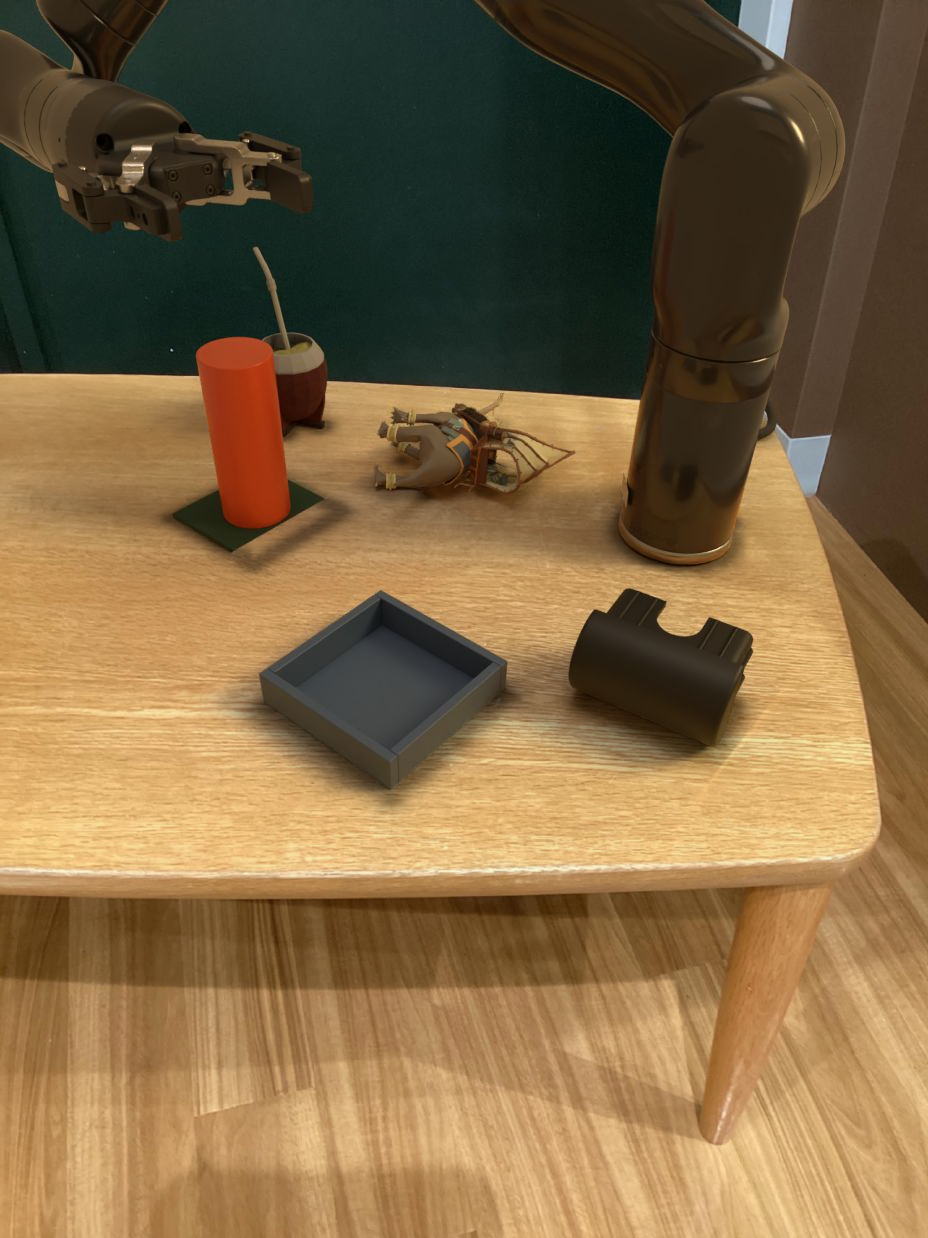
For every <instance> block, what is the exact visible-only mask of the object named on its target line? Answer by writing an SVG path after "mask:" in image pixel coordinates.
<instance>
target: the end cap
mask: <svg viewBox="0 0 928 1238" xmlns="http://www.w3.org/2000/svg"><path fill="white" fill-rule="evenodd" d="M667 602H668V601H667V600H664V599H662V598H659V597H657V596H653V595H651V594H648V593H645V592H643V591H641V590H637V589H635V588H631V587H629V588H628V587H627V588H625V589H623V591H622V592H621V593H620V595H619V596H618V597H617V598H616V600H615V601H614V602H613V603H612V605H611V606H610V608H609V609H608V610H607V612H605V611H602V610H599V609H593V610H592V611H591V613H590V614H589V615H588V617H587V619H586V620H585V622H584V624H583V626H582V628H581V630H580V632H579V634H578V636H577V639H576V641H575V644H574V647H573V649H572V653H571V657H570V660H569V665H568V671H567V672H568V673H567V674H568V675H567V679H568V683H569V685H570V687H571V688H573V689H574V690H577V691H580V692H582V693H583V694H586V695H589V696H591V697H593V698H595V699H598V700H601V701H603V702H605V703H608V704H610V705H612V706H614V707H617V708H620V709H621V710H623V711H627V712H629V713H631V714H634V715H636V716H639V717H641V718H643V719H646V720H648V721H650V722H652V723H655V724H657V725H660V726H662V727H665V728H667V729H669V730H671V731H674V732H676V733H679V734H681V735H683V736H685V737H688V738H690V739H693V740H695V741H698V742H700V743H702V744H704V745H707V746H709V747H715V746H717V745H718V744H719V743H720V741H721V740H722V739H723V736H724V734H725V733H726V730H727V726H728V723H729V719H730V717H731V714H732V710H733V707H734V704H735V700H736V697H737V694H738V692H739V691H740V689H741V687H742V685H743V684H744V681H745V680H746V676H745V669H746V666H747V665H748V663H749V661H750V659H751V657H752V656H753V654H754V649H753V648H752V647H753V643H754V636H753V634H752V633H750V631H748V630H746V629H743V628H741V627H738V626H735V625H732V624H729V623H727V622H724V621H722V620H720V619H717V618H715V617H710V616H708V618H707V619H706V621H705V623H704V624H703V626H702V628H700V630H699V631H698V632H697V633H694V634H691V635H677V634H673V633H671V632H668V631H667V630H665V629H664V628H663V627H662V626H661V625H660V624H659V622H658V618H659V617H660V615H661V614H662V612H663V611H664V610H665V609H666V607H667Z"/></svg>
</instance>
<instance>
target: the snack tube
mask: <svg viewBox="0 0 928 1238" xmlns="http://www.w3.org/2000/svg"><path fill="white" fill-rule="evenodd" d="M195 359H196V365H197V371H198V376H199V383H200V386H201V387H200V389H201V393H202V400H203V405H204V406H203V407H204V410H205V416H206V422H207V429H208V434H209V439H210V444H211V445H210V446H211V451H212V456H213V458H212V459H213V463H214V469H215V475H216V480H217V481H216V482H217V486H218V487H217V488H218V490H219V493H220V498H221V504H222V510H223V515H224V518H225V519H226V520H227V521H228V522H229V523H231V524H232V525H234V526H237V527H241V528H247V529H258V528H265V527H269V526H272V525H275V524H277V523H279V522H281V521H282V520H284V519H285V518H286V517H287V516H288V514H289V512H290V509H291V505H290V496H289V487H288V480H289V478H288V471H287V462H286V454H285V446H284V437H283V435H282V426H281V418H280V409H279V400H278V391H277V383H276V374H275V365H274V357H273V350H272V348H271V346H270V345H269V344H267V343H266V342H264V341H262V339H258V338H255V337H247V336H232V337H224V338H219V339H216V340H212V341H209V342H207V343H205V344H203V345H202V346H201V347H200V348H198V350H196V353H195Z"/></svg>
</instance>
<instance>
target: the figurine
mask: <svg viewBox="0 0 928 1238" xmlns="http://www.w3.org/2000/svg"><path fill="white" fill-rule="evenodd" d="M504 398H505V392H500V393H499V396H498V397H497V399H496V400H495V401H494V402H493V403H492V404H490V405H488V406H485V407H483V408H481V409H479V410H478V409H477V408H476V407H474V406H470V405H469V406H468V405H466V404H465V403H457V402H455V403H454V406H453V407H451V412H450V411H439V412H436V413H432V412H431V413H417V412H416V411H414V409H411V410H408V412H407V411H404V410H401V409H399V408H397V407H396V406H392V408H393V411H390V414H392V415H391V416H389V418H390V419H391V420H392V421H391V422H389V425H388V423H386V421H385V420H382V421H381V423H380V426H379V429H378V431H377V432H376V435H377V436H379V439H386V440H387V442H390V444H389V446H390V447H394V448H397V452H399V455H400V456H401V455H402V454H403V455H405V456H406V455H407V456H408V457H410V458H411V459H413V460H414V461H417V462H419V464H418V468H417V469H416V470H415V471H413V472H412V473H411V474H407V475H397V474H396V473H394V472H393V471H392V470H390V472H389V473H388V472H386V473H385V474H384V473H383V472H382V471H381V470H380V469H379V468H380V467H379V466H378V464H377V463H374V482H375V485H374V487H378V486H383V485H384V486H385V489H386V490H389V491H390V492H391V491H392V489H393V490H394V489H396V488H409V489H416V490H417V489H418V490H425V489H432V488H436V487H438V486H440V485H442V484H443V486H447V485H451V484H453V483H455V482H456V481H457V480H459V479H460V478H461V477H463V476H464V475H465V474H467V473H468V472H469V474H467V476H465V477H464V478H463V479H462V480H460V481H459V482H457V483H456V484H455V485H454V486H453V488H454V489H456V488H457V487H458V486H465V487H468V488H469V489H468V490H467V491H468V492H470V491H472V490H473V489H474V488H475V487H476V486H478V485H481V486H483V487H487V488H489V489H490V490H492V491H495V492H496V493H499V494H501V495H504V496H508V495H511V494H514V493H515V492H516V491H518V490H519V489H520V488H521V486H522V485H525V484H528V483H529V482H530V481H531V480H533V479H534V478H536V477H539V475H541V474H542V473H543V472H544V471H545V470H547V469H549V468H551V467H553V466H554V465H557V464H559V463H561V462H563V461H564V460H567V459H568V458H570V457H571V456H573V455H575V454H576V451H575V450H570V449H567V448H566V449H565V448H562V447H558V446H554V444H553V443H551V444H549V443H547V442H545V441H543V440H541V439H539V438H538V437H536V436H533V435H532V434H530V433H528V432H524V431H521V430H520V429H519V430H518V429H513V428H504V427H500V425H501V424H502V422H503V419H502V418H496V416H495V409H496V408H499V407H500V405H501V403H502V402H503V400H504ZM491 412H492V416H493V419H494V420H493V421H491V420H490V418H489V417H488V416H487V414H489V413H491ZM401 424H406V425H407V426H401ZM415 424H421V425H415ZM408 425H409V426H408ZM411 443H412V444H417V443H419V448H418V447H415V446H413V445H412V444H411ZM498 451H501V452H505V453H506V454H508V455H510V456H511V459H512V460H513V463H515V466H516V467H513V468H512V467H507V466H505V465H503V464H501V463H499V462H497V458H498ZM497 465H498V466H501V469H502V470H514V471H517V472H516V473H517V476H510V475H509V474H506V473H502V472H501V471H500V470H499V468H498V466H497ZM470 478H472V479H470ZM464 481H466V482H469V483H474V484H469V483H464Z"/></svg>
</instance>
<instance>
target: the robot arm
mask: <svg viewBox="0 0 928 1238" xmlns="http://www.w3.org/2000/svg"><path fill="white" fill-rule="evenodd" d="M170 1H171V0H35V3H36V6H37V8H38V11H39V13H40V15H41V16H42V18H43V19H44V20H45V22H46V23H47V24H48V25H49V27H50V28H51V29H52V31H53V32H54V33H55V34H56V35H57V36H58V37H59V38H60V40H61V41H62V42H63V43H64V44H65V45H66V47H67V48H68V49H69V51H71V52H72V54H73V61H72V67H71V69H69V68H67V67H65V66H63V65H61V64H59V63H58V62H57V61H55V60H54V59H52V58H51V57H49V56H48V55H46V54H45V53H43V52H42V51H40V50H39V49H37V48H36V47H34V46H32V45H31V44H30V43H28V42H26V41H25V40H23V39H22V38H20V37H18V36H16V35H14V34H13V33H12V32H9V31H6V30H2V29H0V143H1V144H3V145H4V146H6V147H8V149H11V150H13V151H14V152H15V153H17V154H18V155H20V156H21V157H22V158H24V159H26V160H28V161H29V162H30V163H31V164H33V165H35V166H36V167H39V168H40V169H42V170H44V171H46V172H48V173H51V174H53V177H54V178H53V179H54V182H55V186H56V190H57V194H58V197H59V201H60V205H61V209H62V210H63V212H65V213H67V214H68V215H69V216H70V217H72V218H73V219H74V220H75V221H77V222H78V223H80V224H81V225H82V226H84V227H85V228H86V229H87V230H89V231H90V232H92V233H98V234H105V233H108V232H110V231H112V230H113V225H112V223H120V222H122V223H123V224H124V228H126V230H127V229H128V230H132V231H140V230H142V231H144V232H146V233H147V234H149V235H153V236H157V237H159V238H161V239H163V240H165V241H166V242H168V243H173V242H176V241H182V240H183V238H184V235H183V228H182V223H181V222H182V221H181V217H180V214H181V213H182V212H183V211H184V210H185V209H186V208H187V207H188V206H189V205H190V206H197V207H198V206H200V207H203V206H204V205H206V204H207V203H211V204H220V205H221V204H223V205H233V206H243V205H245V204H247V202H249V201H250V200H252V199H258V200H268V201H269V200H270V201H271V202H273V203H275V204H277V205H280V206H282V207H283V208H285V209H289V210H291V211H292V212H295V213H297V214H299V215H300V214H305V213H310V212H311V211H312V210H313V203H315V199H314V198H315V197H314V188H313V177H312V175H310V174H308V173H307V172H305V171H303V169H302V149H301V148H300V147H298V146H295V145H291V144H289V143H286V142H283V141H281V140H280V141H279V140H278V139H277V140H276V139H274V138H271V137H267V136H265V135H262V134H258V133H256V132H252V131H249V130H248V131H243V132H242V133H239V134H238V141H235V140H234V141H233V140H221V139H208V138H206V137H204V136H203V135H201V134H199V133H196V131H195V130H194V129H193V127H192V126H191V124H190V122H189V121H188V120H187V119H186V117H184V115H183V114H182V113H181V112H180V111H178V110H177V109H176V108H175V107H173V105H171V104H169V103H168V102H166V101H164V100H161V99H159V98H156V97H154V96H152V95H150V94H149V95H148V94H147V93H143V92H141V91H138V90H136V89H133V88H130V87H128V86H125V85H123V84H120V83H118V82H119V79H120V77H121V74H122V73H123V70H124V67H126V66H125V65H126V64H127V62H128V59H130V56H131V55H132V53H133V52H134V50H135V49H136V48H137V47H138V44H140V42H141V41H142V40H143V39H144V37H145V36H146V34H147V33H148V31H150V29H151V27H152V26H153V25H154V24H155V22H156V21H157V19H158V18H159V17H160V15H161V14H162V13H163V11H164V10H165V8H166V7H167V5H168V4H169V3H170ZM471 1H472V2H473V3H474V4H475V5H476V7H478V8H479V9H480V10H481V11H483V12H484V13H485V14H486V15H487V16H488V17H489V18H490V19H491V20H492V21H493V22H494V23H495V24H496V25H497V26H499V28H500V29H501V30H503V31H504V32H505V33H506V34H508V35H509V36H510V37H511V38H512V39H514V40H515V41H516V42H518V43H519V44H520V45H522V46H524V47H525V48H527V49H528V50H530V51H532V52H533V53H535V54H537V55H539V56H540V57H542V58H543V59H545V60H547V61H550V62H551V63H553V64H555V65H557V66H559V67H561V68H563V69H565V70H567V71H569V72H571V73H574V74H576V75H577V76H580V77H582V78H584V79H586V80H589V81H590V82H593V83H595V84H597V85H599V86H602V87H603V88H606V89H608V90H610V91H612V92H614V93H616V94H618V95H619V96H621V97H623V98H625V99H626V100H627V101H629V102H631V103H633V104H634V105H635V106H636V107H637V108H639V109H641V110H642V111H643V112H645V114H646V115H648V116H649V117H650V118H651V119H652V120H653V121H655V122H656V123H657V124H658V125H659V126H660V127H661V128H662V129H663V130H664V131H665V132H666V133H667V134H669V136H671V138H672V139H671V141H670V145H669V148H668V151H667V154H666V157H665V161H664V165H663V170H662V174H661V181H660V186H659V193H658V199H657V200H658V201H657V207H656V216H655V226H654V234H653V241H652V251H651V259H650V268H649V292H650V297H651V301H652V305H653V315H652V322H651V329H650V335H649V341H648V347H647V354H646V360H645V368H644V373H643V380H642V386H641V392H640V396H639V397H640V398H639V402H638V403H639V404H638V409H637V414H636V415H637V416H636V422H635V427H634V428H635V429H634V432H633V433H634V434H633V439H632V446H631V451H630V458H629V464H628V471H627V477H625V476H626V475H625V472H622V473H623V474H622V479H621V480H622V481H621V493H622V497H623V499H622V506H621V509H620V511H619V516H618V517H619V518H618V522H617V527H618V532H619V535H620V536H621V538H622V539H623V541H624V542H625V543H626V544H627V545H628V546H629V547H630V548H632V549H633V550H635V551H636V552H637V553H640V554H641V555H643V556H645V557H647V558H650V559H653V560H656V561H658V562H662V563H668V564H674V565H699V564H704V563H709V562H712V561H714V560H717V559H718V558H720V557H722V556H723V555H725V554H726V553H727V552H728V551H729V549H730V547H731V545H732V543H733V539H734V536H735V535H734V534H735V526H736V522H737V518H738V516H739V515H738V514H739V510H740V506H741V505H742V501H743V496H744V492H745V488H746V485H747V480H748V477H749V474H750V473H749V472H750V469H751V466H752V462H753V457H754V454H755V450H756V446H757V442H758V439H762V438H763V439H764V438H766V437H768V436H770V435H772V433H773V432H774V431H775V430H776V428H777V425H778V417H777V411H776V408H775V405H774V404H773V402H772V400H771V399H770V397H769V396H770V392H771V388H772V384H773V380H774V375H775V372H776V368H777V364H778V361H779V357H780V354H781V349H782V346H783V343H784V339H785V335H786V332H787V328H788V324H789V321H790V306H789V302H788V301H787V299H786V298H785V296H784V289H785V283H786V279H787V274H788V270H789V267H790V262H791V257H792V252H793V248H794V244H795V240H796V236H797V231H798V228H799V224H800V220H801V219H802V218H803V217H804V216H806V215H807V214H809V213H810V212H811V211H812V210H814V209H815V207H817V206H818V205H819V204H821V203H822V202H823V201H824V199H826V197H828V195H829V193H830V192H831V191H832V190H833V188H834V186H835V185H836V183H837V181H838V179H839V177H840V174H841V172H842V169H843V166H844V162H845V156H846V134H845V128H844V123H843V121H842V118H841V115H840V113H839V110H838V108H837V106H836V104H835V103H834V101H833V99H832V98H831V96H830V95H829V94H828V92H827V91H826V90H825V89H823V87H822V86H821V85H819V84H818V83H817V82H816V81H815V80H814V79H812V78H811V77H809V76H808V74H805V73H804V72H802V71H801V70H800V69H798V68H797V67H796V66H794V65H792V64H791V63H790V62H788V61H787V60H786V59H784V58H783V57H781V56H779V55H778V54H777V53H775V52H774V51H772V50H770V49H769V48H768V47H767V46H765V45H764V44H762V43H761V42H759V40H756V39H755V38H753V37H752V36H751V35H749V34H747V33H746V32H745V31H744V30H742V29H741V28H740V27H738V26H737V25H735V24H734V23H733V22H731V21H730V20H728V19H727V18H726V17H724V16H723V15H721V14H720V13H719V12H718V11H717V10H715V9H714V8H713V7H712V6H710V5H709V4H708V3H707V1H705V0H471ZM229 169H230V170H231V177H232V185H233V189H224V187H225V185H226V182H227V179H228V177H229V174H230V170H229ZM254 180H255V181H258V182H261V183H263V184H262V185H261V184H255V183H254V182H253V181H254ZM765 415H766V418H767V421H766V425H765V426H764V427H762V424H763V419H764V416H765ZM761 427H762V428H761Z"/></svg>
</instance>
